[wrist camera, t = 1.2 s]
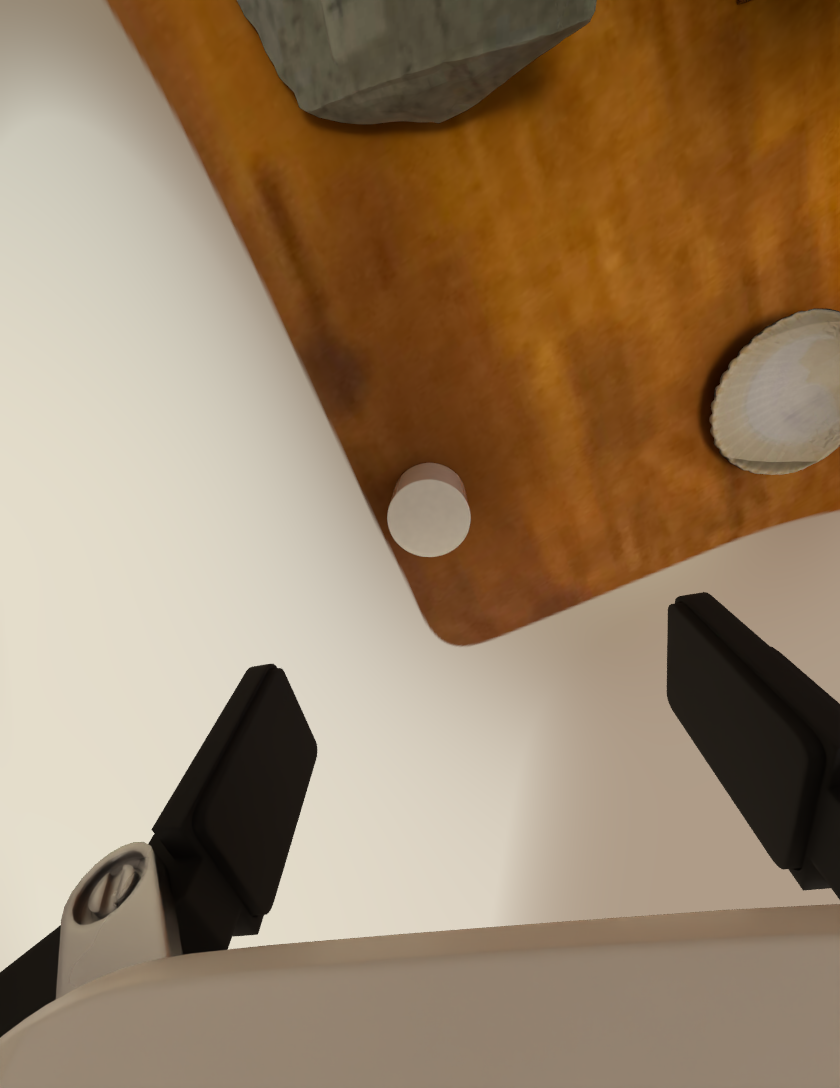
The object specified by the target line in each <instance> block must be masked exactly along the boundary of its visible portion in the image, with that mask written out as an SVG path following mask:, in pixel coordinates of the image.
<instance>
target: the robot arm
mask: <svg viewBox="0 0 840 1088" xmlns="http://www.w3.org/2000/svg"><path fill="white" fill-rule="evenodd" d="M667 697H668V701H669V704H670V706H671V708H672V710H673V712H674V713H675V715H676V716H677V718H678V719H679V721H680V722H681V724H682V725H683V726H684V728H685V730H686V731H687V733H688V734H689V736H690V737H691V739H692V740H693V742H694V743H695V745H696V746H697V748H698V749H699V751H700V752H701V754H702V755H703V757H704V758H705V760H706V761H707V763H708V764H709V765H710V767H711V769H712V770H713V772H714V773H715V775H716V776H717V777H718V779H719V781H720V782H721V784H722V785H723V787H724V788H725V790H726V791H727V792H728V794H729V795H730V797H731V799H732V800H733V802H734V803H735V804H736V806H737V808H738V809H739V811H740V812H741V814H742V815H743V816H744V818H745V820H746V821H747V823H748V824H749V826H750V827H751V829H752V830H753V831H754V833H755V834H756V836H757V838H758V839H759V840H760V842H761V843H762V845H763V847H764V848H765V850H766V851H767V853H768V854H769V856H770V857H771V858H772V860H773V861H774V862H775V863H776V865H777V866H778V867H780V868H781V869H789V870H790V872H791V873H792V875H793V876H794V878H795V879H796V881H797V882H798V884H799V885H800V886H801V888H802V889H803V890H812V889H825V888H832V890H833V891H834V892H835V894H836V895H837V896H838V898H839V899H840V704H839V703H838V702H837V701H836V700H835V699H833V698H832V697H831V696H830V695H829V694H828V693H826V692H825V691H824V690H823V689H822V688H821V687H819V686H818V685H817V684H816V683H815V682H814V681H812V680H811V679H810V678H809V677H808V676H807V675H806V674H804V673H803V672H802V671H801V670H800V669H799V668H797V667H796V666H795V665H794V664H793V663H792V662H791V661H789V660H788V659H787V658H786V657H785V656H783V655H782V654H781V653H780V652H779V651H777V650H776V649H774V648H773V647H770V646H769V645H767V644H766V643H765V642H764V641H763V640H762V639H761V638H759V637H758V636H757V635H756V634H755V633H754V632H753V631H751V630H750V629H749V628H748V627H747V626H746V625H745V624H743V623H742V622H741V621H740V620H739V619H738V618H737V617H735V616H734V615H733V614H732V613H731V612H730V611H728V610H727V609H726V608H725V607H724V606H723V605H722V604H720V603H719V602H718V601H717V600H716V599H715V598H714V597H712V596H711V595H710V594H708V593H705V592H703V593H697V594H690V595H685V596H679V597H677V598H676V600H675V604H671V605H669V607H668V645H667ZM316 757H317V744H316V741H315V739H314V737H313V734H312V732H311V730H310V728H309V726H308V723H307V721H306V719H305V717H304V714H303V712H302V710H301V708H300V706H299V704H298V701H297V699H296V697H295V695H294V692H293V690H292V688H291V686H290V684H289V681H288V679H287V677H286V675H285V672H284V671H283V670H282V669H281V668H277V667H276V666H275V665H274V664H266V665H260V666H254V667H251V668H249V669H248V670H247V671H246V673H245V674H244V676H243V678H242V679H241V681H240V683H239V685H238V686H237V688H236V689H235V691H234V693H233V695H232V696H231V698H230V699H229V701H228V703H227V705H226V706H225V708H224V710H223V711H222V713H221V715H220V716H219V718H218V719H217V721H216V723H215V725H214V726H213V728H212V730H211V731H210V733H209V735H208V736H207V738H206V740H205V741H204V743H203V745H202V746H201V748H200V750H199V751H198V753H197V755H196V756H195V758H194V760H193V761H192V763H191V765H190V766H189V768H188V770H187V771H186V773H185V775H184V776H183V778H182V780H181V781H180V783H179V785H178V786H177V788H176V790H175V792H174V793H173V795H172V797H171V798H170V800H169V801H168V803H167V805H166V806H165V808H164V810H163V812H162V813H161V815H160V816H159V818H158V820H157V822H156V823H155V825H154V826H153V828H152V831H153V832H154V833H155V834H154V835H153V837H152V839H151V841H150V842H149V844H146V843H144V842H133V843H130V844H128V845H125V846H122V847H120V848H118V849H117V850H115V851H113V852H111V853H110V854H108V855H107V856H106V857H104V858H103V859H102V860H101V861H99V862H98V863H97V864H95V866H94V867H93V868H92V869H91V870H90V871H89V872H88V873H87V874H86V875H85V876H84V877H83V878H82V879H81V881H80V882H79V884H78V885H77V886H76V888H75V889H74V890H73V892H72V893H71V895H70V897H69V899H68V901H67V903H66V905H65V907H64V911H63V915H62V919H61V925H60V926H59V927H58V928H57V929H55V930H54V931H53V932H52V933H50V934H49V935H48V936H46V937H45V938H44V939H42V940H41V941H40V942H39V943H37V944H36V945H35V946H33V947H32V948H31V949H30V950H28V951H27V952H26V953H25V954H23V955H22V956H21V957H19V958H18V959H17V960H16V961H14V962H13V963H12V964H11V965H9V966H8V967H7V968H5V969H4V970H3V971H2V972H0V1088H840V904H834V905H813V906H796V907H795V906H794V907H774V908H755V909H737V910H719V911H705V912H691V913H677V914H664V915H649V916H635V917H623V918H607V919H594V920H579V921H566V922H553V923H540V924H527V925H514V926H501V927H487V928H475V929H462V930H450V931H436V932H424V933H412V934H399V935H387V936H375V937H363V938H350V939H338V940H326V941H315V942H302V943H290V944H279V945H267V946H258V947H248V948H240V949H230V950H227V949H228V946H229V944H230V941H231V938H232V936H244V935H256V934H258V932H259V929H260V926H261V922H262V919H263V916H264V915H265V914H267V913H269V911H270V910H271V908H272V905H273V902H274V899H275V896H276V893H277V889H278V886H279V882H280V879H281V876H282V872H283V869H284V866H285V862H286V859H287V855H288V852H289V849H290V845H291V842H292V839H293V835H294V832H295V828H296V825H297V822H298V818H299V815H300V812H301V808H302V805H303V801H304V798H305V795H306V791H307V788H308V784H309V781H310V777H311V774H312V771H313V768H314V764H315V761H316Z"/></svg>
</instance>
